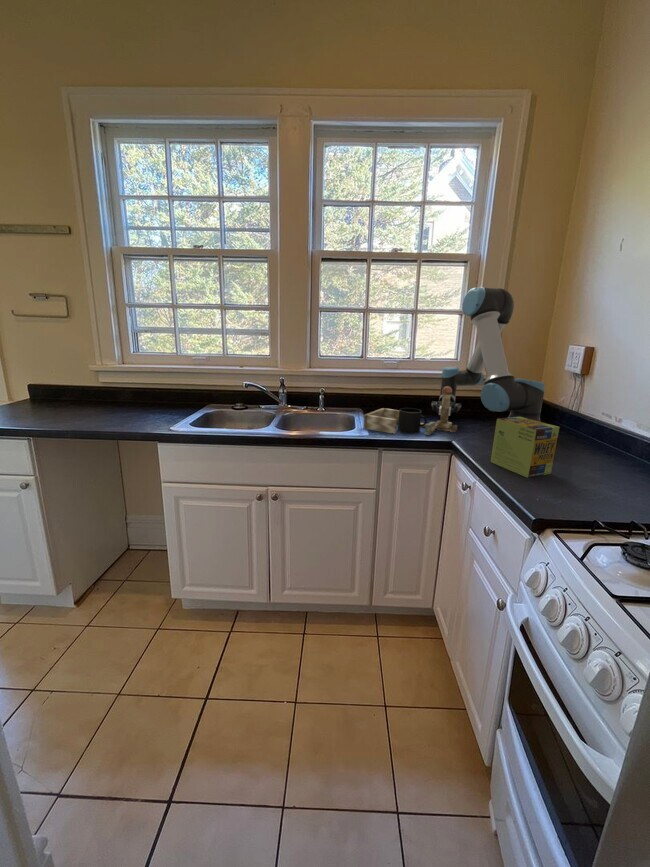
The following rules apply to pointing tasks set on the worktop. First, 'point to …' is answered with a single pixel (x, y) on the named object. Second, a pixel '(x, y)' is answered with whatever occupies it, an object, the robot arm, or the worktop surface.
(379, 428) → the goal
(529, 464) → the protein box
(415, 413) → the mug
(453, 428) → the rail
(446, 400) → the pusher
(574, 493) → the worktop surface
